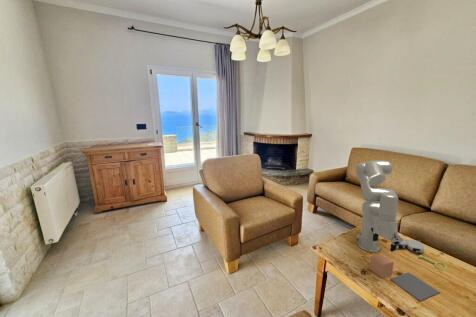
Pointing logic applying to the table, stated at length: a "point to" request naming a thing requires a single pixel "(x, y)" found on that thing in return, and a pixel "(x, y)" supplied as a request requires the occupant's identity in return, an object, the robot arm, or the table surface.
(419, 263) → the table surface
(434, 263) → the key
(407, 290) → the charcoal mat
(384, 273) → the brown cube
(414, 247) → the robot toy
